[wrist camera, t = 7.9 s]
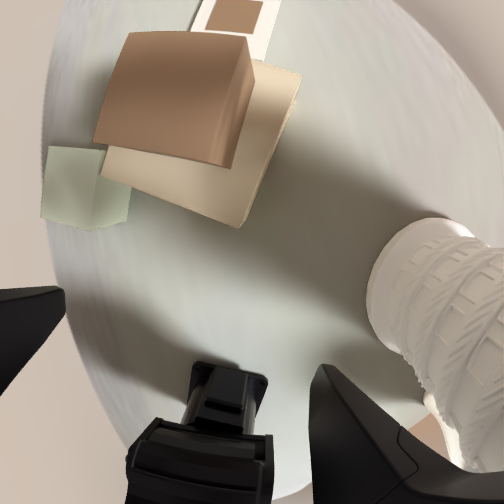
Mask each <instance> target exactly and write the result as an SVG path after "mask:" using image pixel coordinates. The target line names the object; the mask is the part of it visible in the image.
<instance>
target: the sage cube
mask: <svg viewBox="0 0 504 504" xmlns="http://www.w3.org/2000/svg"><path fill="white" fill-rule="evenodd" d="M106 154H107V151H105V150H96V149H85V148H74V147H60V146H49V149H48V155H47V160H46V167H45V174H44V182H43V190H42V201H41V216H40V217H41V218H44V219H48V220H51V221H54V222H58V223H61V224H65V225H68V226H72V227H75V228H78V229H82V230H85V231H89V232H91V231H94V230H97V229H101V228H104V227H107V226H111V225H114V224H117V223H121V222H124V221H127V216H128V208H129V202H130V195H131V189H132V187H130V186H127V185H124V184H122V183H119V182H116V181H114V180H111V179H109V178H106V177H103V176H101V175H100V173H101V170H102V167H103V163H104V160H105V157H106Z"/></svg>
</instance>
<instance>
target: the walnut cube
mask: <svg viewBox="0 0 504 504" xmlns="http://www.w3.org/2000/svg"><path fill="white" fill-rule="evenodd" d="M254 84H255V77H254V72H253V67H252V62H251V57H250V52H249V47H248V43H247V38H246V37H245V36H238V35H229V34H220V33H208V32H189V31H152V32H134V33H129V35H128V37H127V39H126V41H125V44H124V46H123V48H122V51H121V53H120V55H119V58H118V60H117V63H116V66H115V68H114V71H113V74H112V76H111V79H110V82H109V85H108V88H107V91H106V94H105V97H104V100H103V104H102V107H101V110H100V114H99V117H98V121H97V125H96V129H95V133H94V137H93V141H92V142H93V143H99V144H105V145H111V146H116V147H122V148H127V149H132V150H137V151H142V152H148V153H154V154H159V155H165V156H170V157H175V158H181V159H186V160H191V161H195V162H200V163H205V164H210V165H214V166H218V167H223V168H227V169H231V166H232V162H233V159H234V155H235V151H236V147H237V144H238V140H239V136H240V133H241V129H242V126H243V122H244V119H245V115H246V112H247V108H248V105H249V101H250V98H251V94H252V91H253V88H254Z"/></svg>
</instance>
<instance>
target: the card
mask: <svg viewBox="0 0 504 504" xmlns="http://www.w3.org/2000/svg"><path fill="white" fill-rule="evenodd" d="M280 3H281V0H203V2H202V4H201V7H200V9H199V11H198V14H197V16H196V18H195V21H194V23H193V26H192V28H191V31H190V32H208V33H220V34H229V35H238V36H245V37H246V38H247V43H248V47H249V52H250V57H251V59H253V60H256V61H260V62H263V61H264V57H265V54H266V50H267V47H268V43H269V40H270V36H271V33H272V29H273V26H274V23H275V19H276V16H277V13H278V9H279V6H280Z"/></svg>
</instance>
